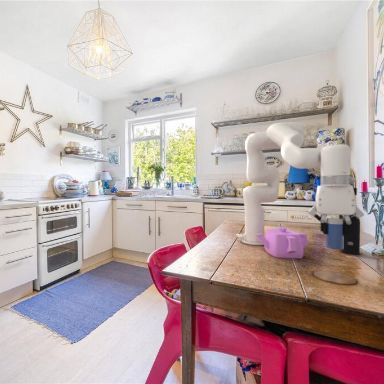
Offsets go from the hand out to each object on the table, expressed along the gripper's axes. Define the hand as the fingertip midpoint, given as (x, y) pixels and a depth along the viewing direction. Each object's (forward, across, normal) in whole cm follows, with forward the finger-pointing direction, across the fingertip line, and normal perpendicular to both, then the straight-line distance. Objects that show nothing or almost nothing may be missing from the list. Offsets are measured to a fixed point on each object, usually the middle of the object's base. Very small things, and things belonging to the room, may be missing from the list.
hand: (334, 234), depth 80 cm
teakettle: (+15, +15, -24) cm, 32 cm away
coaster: (+15, 0, 0) cm, 15 cm away
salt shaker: (+5, 0, 0) cm, 5 cm away
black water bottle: (+15, -12, -40) cm, 45 cm away
